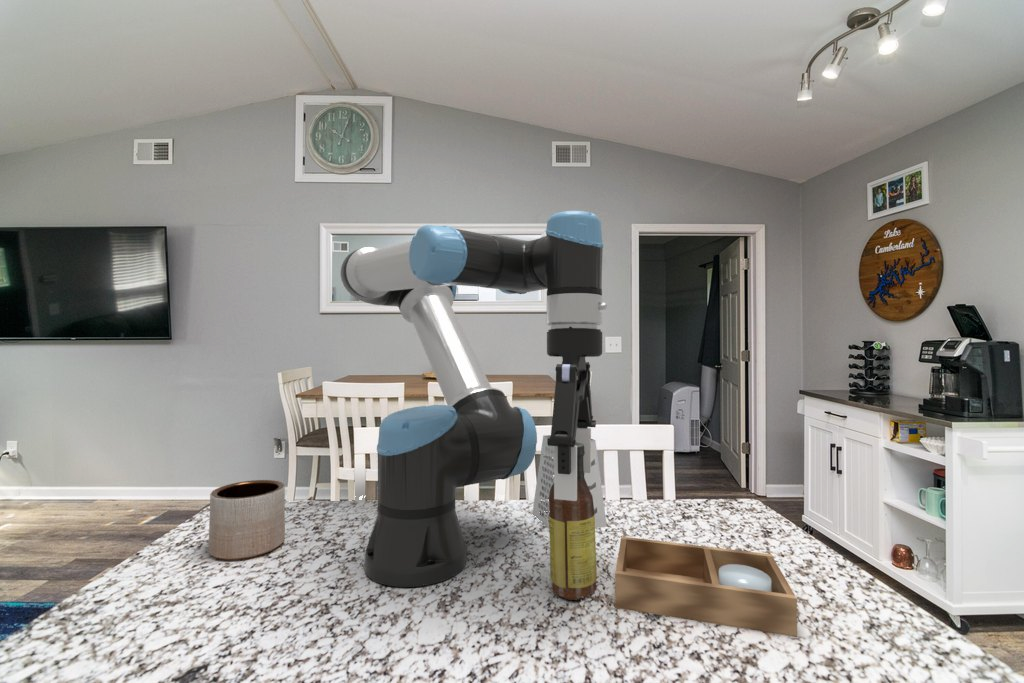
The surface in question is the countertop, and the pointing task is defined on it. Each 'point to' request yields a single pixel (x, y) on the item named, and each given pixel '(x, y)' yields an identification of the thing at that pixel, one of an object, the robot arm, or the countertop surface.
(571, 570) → the sauce bottle
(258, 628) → the countertop surface
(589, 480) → the grater
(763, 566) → the caddy
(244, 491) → the planter
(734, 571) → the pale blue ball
